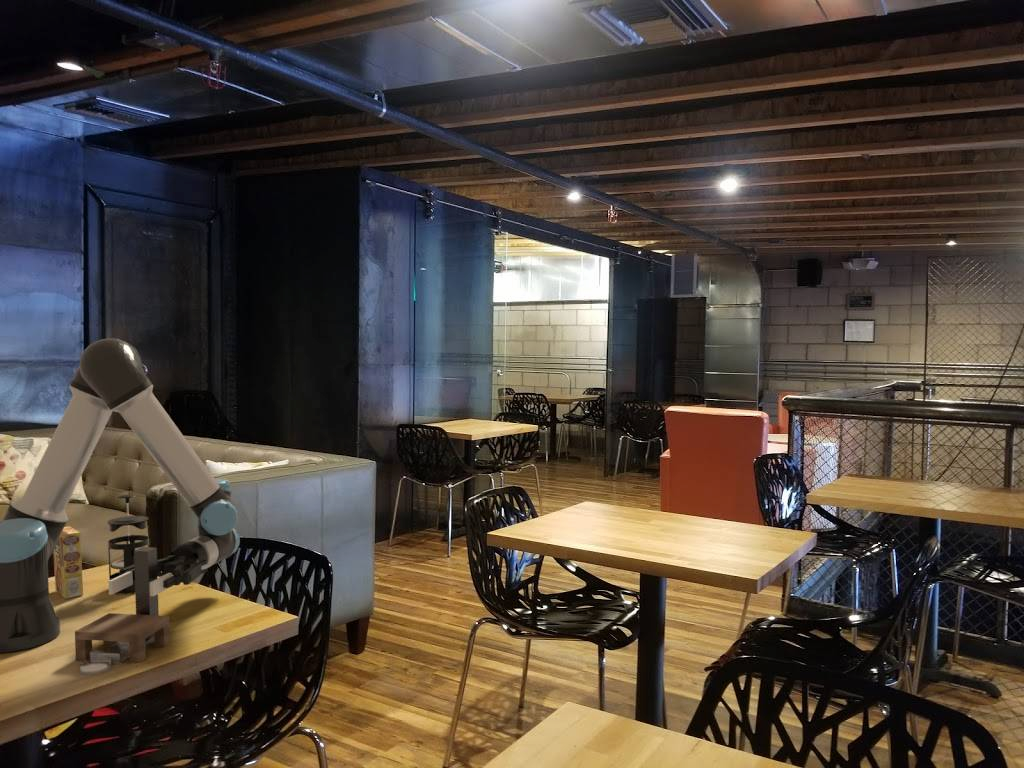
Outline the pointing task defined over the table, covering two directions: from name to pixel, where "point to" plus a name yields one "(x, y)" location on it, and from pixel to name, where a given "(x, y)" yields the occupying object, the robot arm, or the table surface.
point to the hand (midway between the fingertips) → (131, 588)
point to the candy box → (68, 564)
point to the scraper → (137, 600)
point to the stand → (123, 634)
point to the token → (95, 666)
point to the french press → (130, 542)
